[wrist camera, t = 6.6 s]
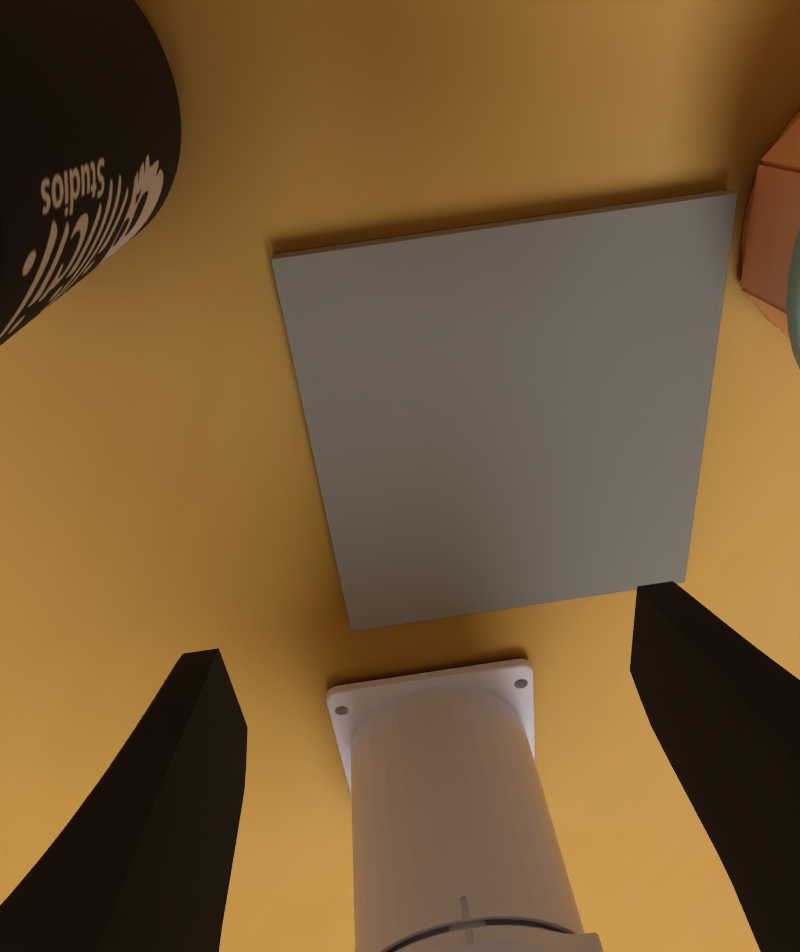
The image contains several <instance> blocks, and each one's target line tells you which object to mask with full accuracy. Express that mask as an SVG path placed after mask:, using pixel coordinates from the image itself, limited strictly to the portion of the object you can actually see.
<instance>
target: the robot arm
mask: <svg viewBox="0 0 800 952" xmlns="http://www.w3.org/2000/svg"><path fill="white" fill-rule="evenodd" d="M630 672H631V674H632V677H633V680H634V682H635V685H636V688H637V691H638V693H639V696H640V699H641V701H642V704H643V706H644V709H645V711H646V714H647V717H648V719H649V722H650V724H651V726H652V728H653V730H654V732H655V734H656V736H657V738H658V740H659V742H660V744H661V746H662V748H663V750H664V752H665V754H666V756H667V758H668V760H669V761H670V763H671V765H672V767H673V769H674V771H675V773H676V775H677V777H678V779H679V781H680V782H681V784H682V786H683V788H684V790H685V792H686V794H687V796H688V798H689V799H690V801H691V803H692V805H693V807H694V809H695V811H696V813H697V815H698V817H699V818H700V820H701V822H702V824H703V826H704V828H705V830H706V832H707V834H708V836H709V837H710V839H711V841H712V843H713V845H714V847H715V849H716V851H717V853H718V855H719V857H720V859H721V861H722V863H723V865H724V867H725V869H726V871H727V873H728V876H729V878H730V880H731V882H732V884H733V886H734V889H735V891H736V894H737V896H738V898H739V901H740V903H741V906H742V908H743V910H744V913H745V915H746V918H747V920H748V922H749V925H750V927H751V929H752V932H753V934H754V937H755V939H756V941H757V944H758V946H759V949H760V951H761V952H800V680H799V679H797V678H796V677H795V676H793V675H792V674H791V673H789V672H788V671H787V670H785V669H784V668H783V667H781V666H780V665H779V664H777V663H776V662H775V661H773V660H772V659H771V658H769V657H768V656H767V655H765V654H764V653H763V652H761V651H760V650H759V649H757V648H756V647H755V646H754V645H752V644H751V643H750V642H748V641H747V640H746V639H744V638H743V637H742V636H741V635H739V634H738V633H737V632H736V631H734V630H733V629H732V628H731V627H729V626H728V625H727V624H726V623H724V622H723V621H722V620H721V619H719V618H718V617H717V616H716V615H714V614H713V613H712V612H711V611H709V610H708V609H707V608H706V607H704V606H703V605H702V604H701V603H699V602H698V601H697V600H696V599H694V598H693V597H692V596H691V595H690V594H688V593H687V592H686V591H684V590H683V589H682V588H681V587H679V586H678V585H677V584H676V583H674V582H673V581H670V582H663V583H656V584H650V585H643V586H637V596H636V607H635V618H634V630H633V641H632V652H631V663H630ZM519 679H522V680H519ZM518 680H519V681H518ZM327 706H328V710H329V714H330V718H331V722H332V725H333V729H334V733H335V737H336V741H337V744H338V748H339V752H340V756H341V760H342V764H343V767H344V771H345V775H346V779H347V783H348V786H349V790H350V794H351V798H352V836H353V878H354V919H355V952H603V948H602V945H601V942H600V939H599V935H598V934H596V933H586V934H585V933H584V930H583V927H582V923H581V920H580V916H579V913H578V909H577V906H576V903H575V899H574V896H573V892H572V889H571V885H570V882H569V878H568V875H567V872H566V868H565V865H564V861H563V858H562V854H561V851H560V848H559V844H558V841H557V837H556V834H555V830H554V827H553V824H552V820H551V817H550V813H549V810H548V806H547V803H546V800H545V796H544V793H543V789H542V786H541V782H540V779H539V776H538V772H537V769H536V765H535V731H534V682H533V669H532V666H531V663H530V662H529V661H528V660H525V659H513V660H506V661H500V662H493V663H486V664H480V665H473V666H466V667H460V668H453V669H446V670H439V671H433V672H426V673H419V674H413V675H406V676H399V677H393V678H386V679H379V680H372V681H366V682H359V683H352V684H346V685H339V686H335V687H332V688H331V689H329V690H328V692H327ZM339 706H344V707H339ZM246 753H247V725H246V722H245V719H244V716H243V714H242V711H241V708H240V705H239V703H238V700H237V697H236V695H235V692H234V689H233V686H232V684H231V681H230V678H229V675H228V673H227V670H226V667H225V664H224V662H223V659H222V656H221V653H220V651H219V649H212V650H205V651H198V652H192V653H185V654H183V655H182V656H181V657H180V658H179V660H178V661H177V663H176V664H175V666H174V668H173V669H172V671H171V672H170V674H169V675H168V677H167V679H166V680H165V682H164V684H163V685H162V687H161V688H160V690H159V692H158V693H157V695H156V696H155V698H154V699H153V701H152V703H151V704H150V706H149V707H148V709H147V711H146V712H145V714H144V715H143V717H142V718H141V720H140V721H139V723H138V725H137V726H136V728H135V729H134V731H133V732H132V734H131V735H130V737H129V738H128V740H127V741H126V743H125V744H124V745H123V747H122V748H121V750H120V751H119V753H118V754H117V756H116V757H115V759H114V760H113V762H112V763H111V765H110V766H109V768H108V769H107V771H106V772H105V773H104V775H103V776H102V778H101V779H100V781H99V782H98V783H97V785H96V786H95V787H94V789H93V790H92V791H91V793H90V794H89V796H88V797H87V798H86V800H85V801H84V802H83V804H82V805H81V806H80V808H79V809H78V810H77V812H76V813H75V815H74V816H73V817H72V819H71V820H70V821H69V823H68V824H67V825H66V827H65V828H64V829H63V831H62V832H61V833H60V834H59V836H58V837H57V838H56V839H55V841H54V842H53V843H52V845H51V846H50V847H49V848H48V850H47V851H46V852H45V853H44V855H43V856H42V857H41V858H40V859H39V861H38V862H37V863H36V864H35V866H34V867H33V868H32V869H31V870H30V872H29V873H28V874H27V875H26V876H25V877H24V879H23V880H22V881H21V882H20V883H19V885H18V886H17V887H16V888H15V889H14V891H13V892H12V893H11V894H10V895H9V896H8V897H7V899H6V900H5V901H4V902H3V903H2V904H1V905H0V952H219V945H220V938H221V930H222V923H223V917H224V911H225V905H226V899H227V893H228V887H229V881H230V875H231V869H232V863H233V857H234V851H235V845H236V839H237V833H238V827H239V820H240V814H241V808H242V802H243V795H244V788H245V773H246Z"/></svg>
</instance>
